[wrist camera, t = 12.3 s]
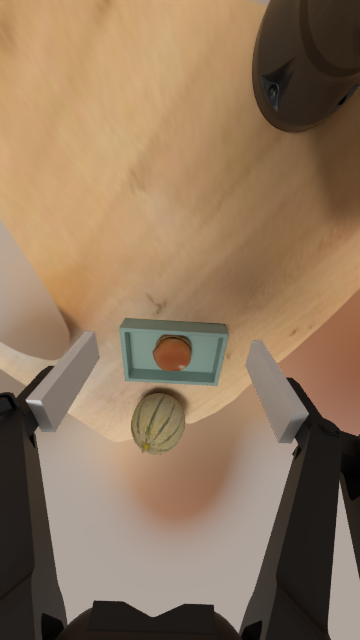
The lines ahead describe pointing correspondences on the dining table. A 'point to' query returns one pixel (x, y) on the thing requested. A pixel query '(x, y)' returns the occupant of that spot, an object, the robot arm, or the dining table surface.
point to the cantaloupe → (157, 423)
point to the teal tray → (145, 334)
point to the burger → (172, 352)
